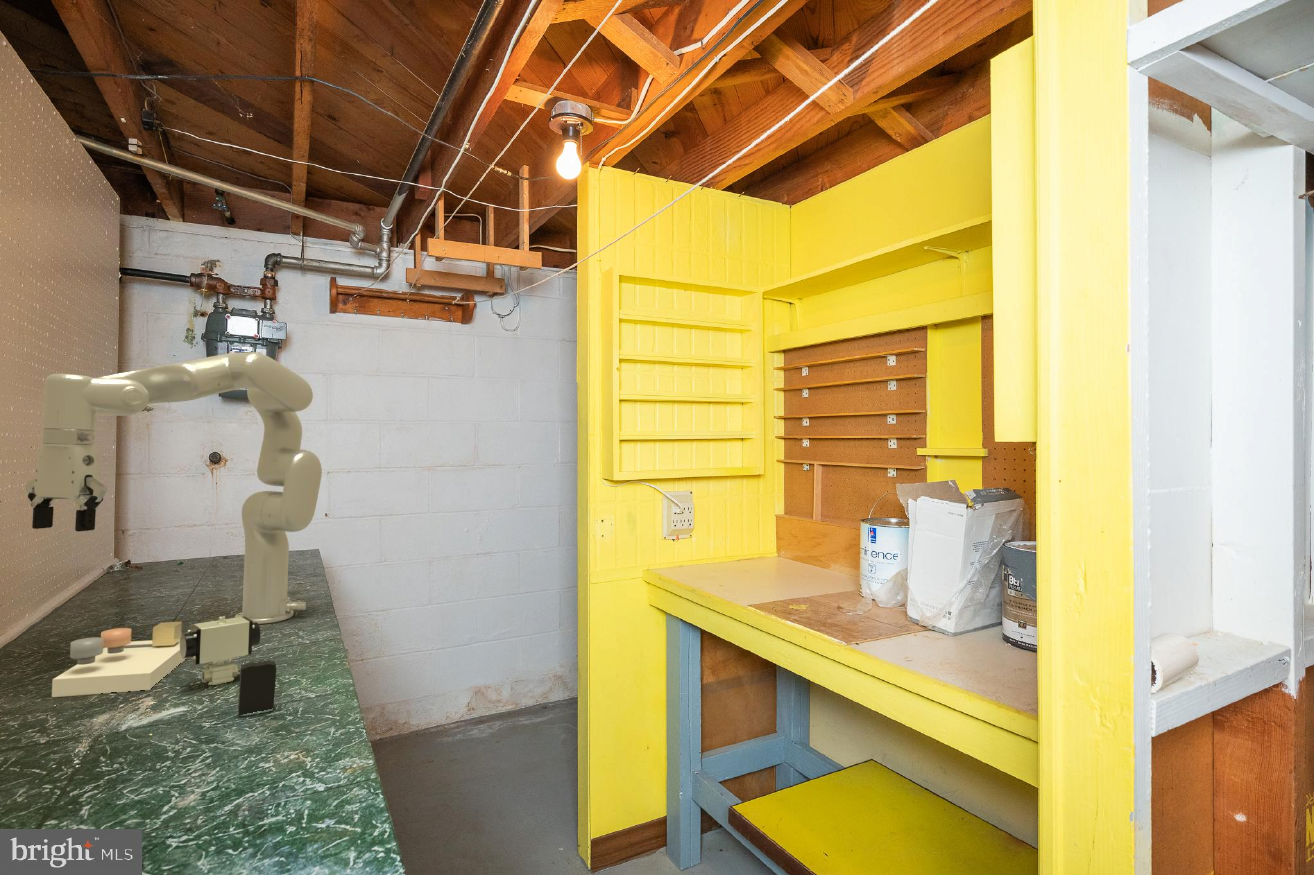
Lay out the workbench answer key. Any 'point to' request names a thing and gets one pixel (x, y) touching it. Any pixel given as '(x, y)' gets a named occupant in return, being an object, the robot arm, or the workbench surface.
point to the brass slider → (166, 633)
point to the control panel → (120, 670)
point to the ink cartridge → (257, 687)
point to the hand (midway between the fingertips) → (63, 529)
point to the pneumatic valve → (219, 646)
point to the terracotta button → (116, 639)
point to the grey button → (86, 649)
